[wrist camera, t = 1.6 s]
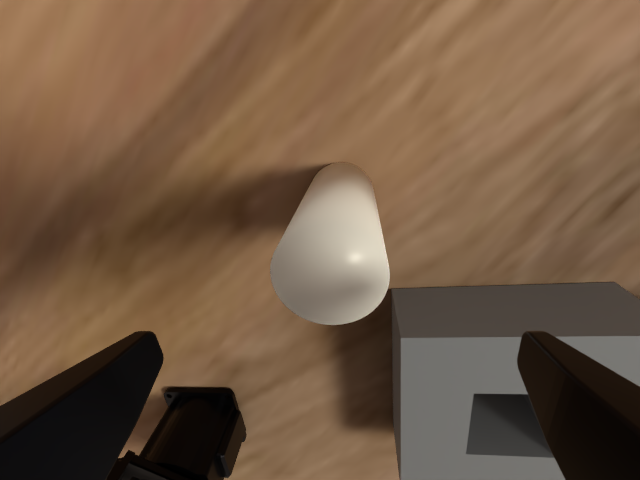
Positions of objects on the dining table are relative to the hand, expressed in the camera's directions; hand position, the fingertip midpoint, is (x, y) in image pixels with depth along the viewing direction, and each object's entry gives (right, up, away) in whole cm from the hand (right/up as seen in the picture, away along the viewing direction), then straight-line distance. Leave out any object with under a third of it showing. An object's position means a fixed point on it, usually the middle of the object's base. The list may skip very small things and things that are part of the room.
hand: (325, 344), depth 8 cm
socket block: (+12, -7, +16) cm, 21 cm away
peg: (+1, +5, +12) cm, 13 cm away
